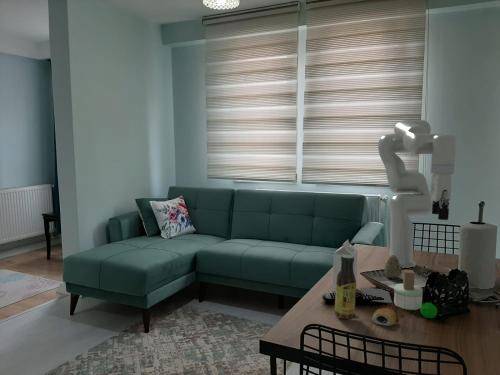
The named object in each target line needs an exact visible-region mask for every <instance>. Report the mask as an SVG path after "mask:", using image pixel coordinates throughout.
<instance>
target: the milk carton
mask: <svg viewBox="0 0 500 375" xmlns="http://www.w3.org/2000/svg"><path fill="white" fill-rule="evenodd" d="M342 255H352V256H354V262H353V272H354V276H355V280H356V282H357V274H358V273H357V272H358V269H357V268H358V250H357V249H356V248H355V246H353V245H352V244H351V243H350V242H349V239H347V240H346V241H345V242H344V243H343V244H342V246H341V247H339V248H338V249H337V250H336V251H335V252H333V260H332V261H333V262H332V267H333V268H332V292H334V293H336V283H337V275H338V273H339V272H340V270H341V262H342V261H341V256H342Z"/></svg>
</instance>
